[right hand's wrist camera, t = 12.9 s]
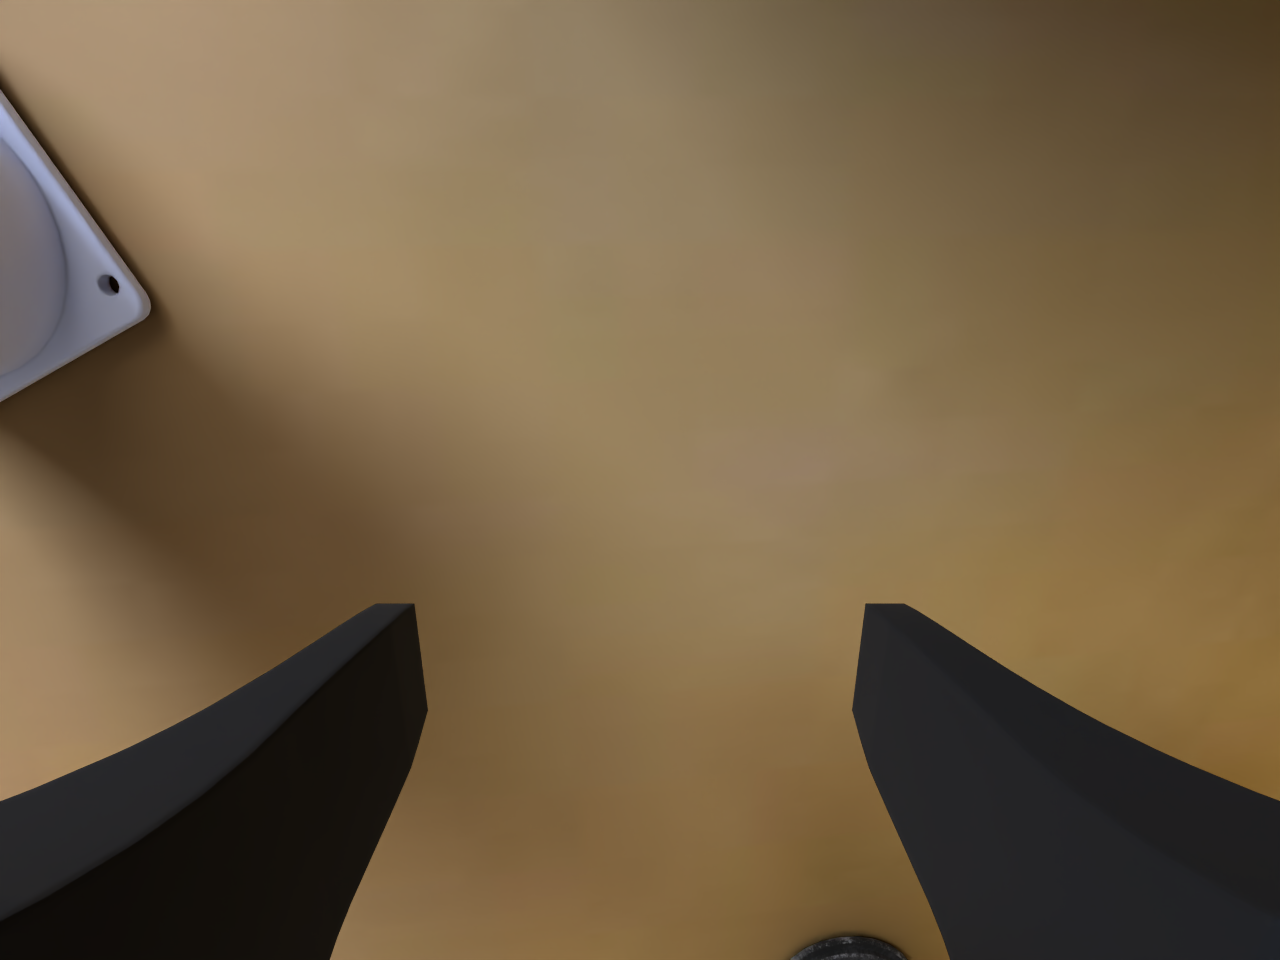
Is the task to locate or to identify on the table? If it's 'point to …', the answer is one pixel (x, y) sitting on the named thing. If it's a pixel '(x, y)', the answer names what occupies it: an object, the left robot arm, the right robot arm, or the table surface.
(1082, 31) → the table surface
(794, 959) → the grey tall tapered piece
